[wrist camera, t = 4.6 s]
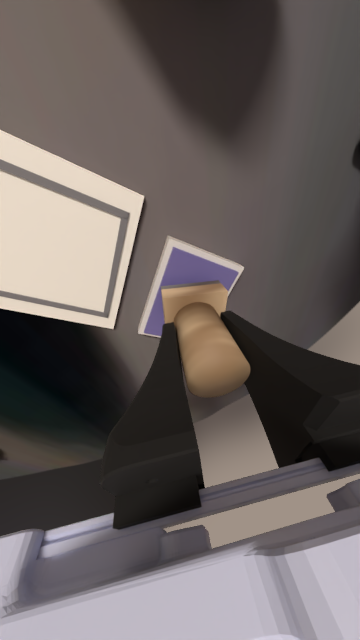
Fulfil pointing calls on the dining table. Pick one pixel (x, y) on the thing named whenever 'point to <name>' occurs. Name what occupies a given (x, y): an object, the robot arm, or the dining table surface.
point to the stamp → (204, 338)
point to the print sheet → (62, 236)
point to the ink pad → (183, 278)
